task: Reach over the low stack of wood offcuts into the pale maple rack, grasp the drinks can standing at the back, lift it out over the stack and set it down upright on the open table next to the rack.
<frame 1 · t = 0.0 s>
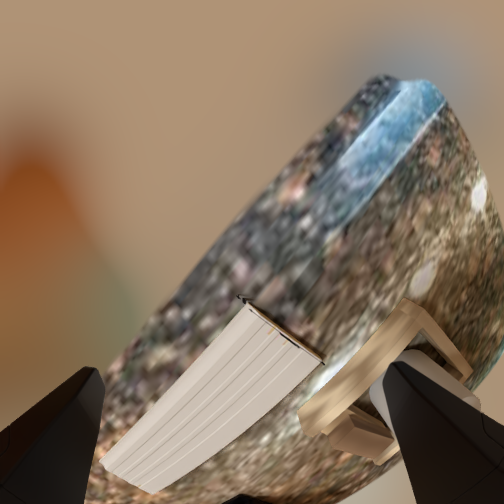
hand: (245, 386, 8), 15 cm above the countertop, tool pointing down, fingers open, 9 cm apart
rack: (384, 390, 26), on the countertop
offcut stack: (351, 421, 26), on the countertop
baseboard: (181, 420, 26), on the countertop
can: (396, 375, 26), resting in rack
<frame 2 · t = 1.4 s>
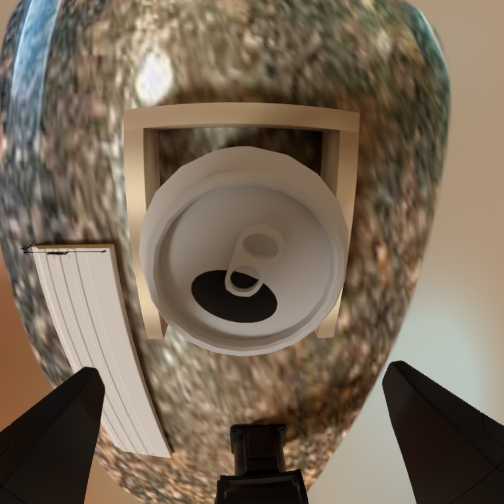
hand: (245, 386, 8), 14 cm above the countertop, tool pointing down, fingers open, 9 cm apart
rack: (239, 228, 20), on the countertop
baseboard: (106, 374, 26), on the countertop
can: (240, 200, 20), resting in rack
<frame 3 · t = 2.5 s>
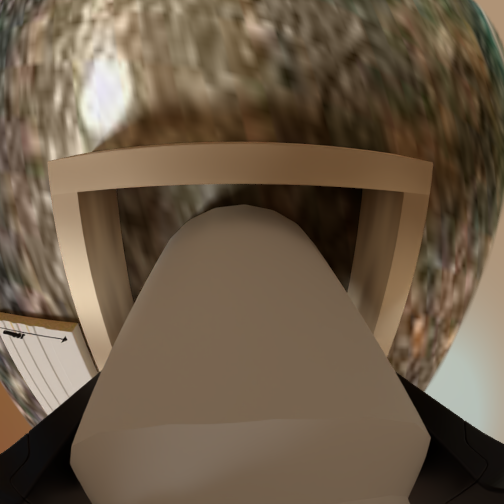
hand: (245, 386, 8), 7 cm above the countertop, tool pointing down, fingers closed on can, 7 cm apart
rack: (240, 313, 14), on the countertop
baseboard: (94, 434, 21), on the countertop
can: (239, 276, 14), resting in rack, touching gripper
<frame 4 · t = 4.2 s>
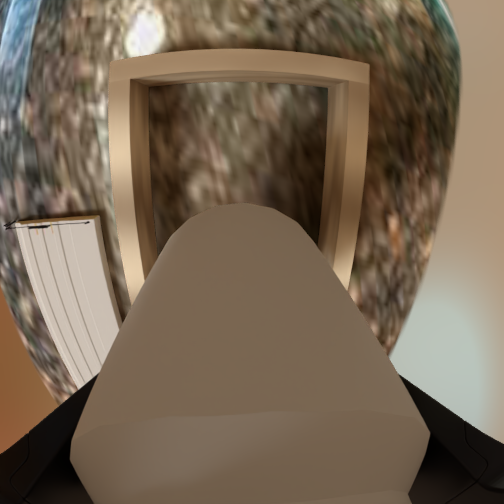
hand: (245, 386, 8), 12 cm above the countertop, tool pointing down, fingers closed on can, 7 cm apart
rack: (237, 192, 18), on the countertop
baseboard: (95, 360, 24), on the countertop
can: (239, 274, 14), point 6 cm above the countertop, touching gripper
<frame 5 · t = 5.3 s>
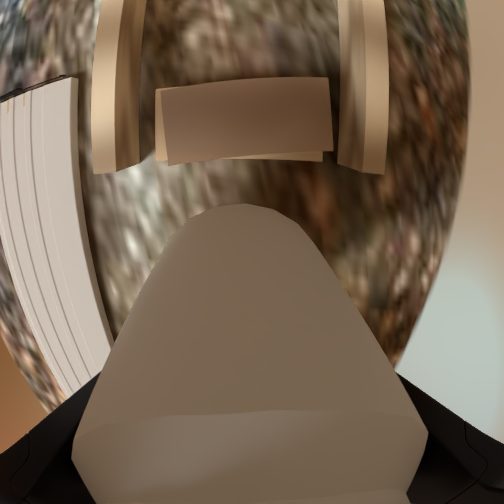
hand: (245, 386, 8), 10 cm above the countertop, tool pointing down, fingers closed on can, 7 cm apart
rack: (241, 38, 12), on the countertop
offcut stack: (239, 122, 14), on the countertop
baseboard: (55, 294, 18), on the countertop
can: (239, 274, 14), point 3 cm above the countertop, touching gripper
when the fingers open (8 cm above the countertop, at t = 6.2 s): can drops 1 cm, on the countertop.
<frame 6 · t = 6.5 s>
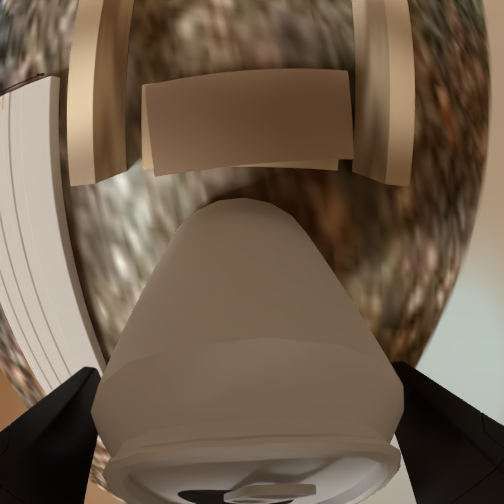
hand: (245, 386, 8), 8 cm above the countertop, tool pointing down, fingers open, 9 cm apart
rack: (242, 27, 10), on the countertop
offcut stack: (240, 124, 12), on the countertop
baseboard: (42, 312, 16), on the countertop
can: (239, 264, 15), on the countertop
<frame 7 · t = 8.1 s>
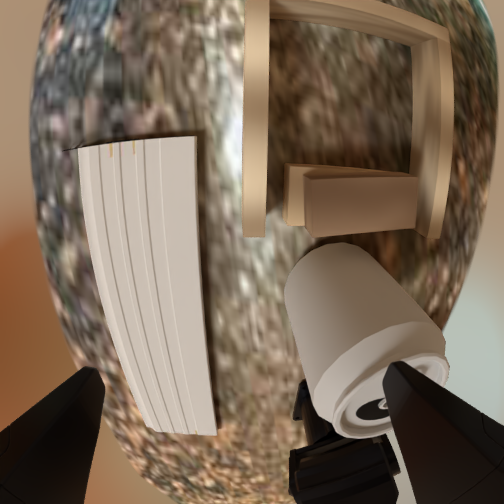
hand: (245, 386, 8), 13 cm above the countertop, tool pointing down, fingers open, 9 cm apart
rack: (344, 120, 17), on the countertop
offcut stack: (340, 192, 19), on the countertop
baseboard: (150, 325, 23), on the countertop
can: (329, 282, 22), on the countertop
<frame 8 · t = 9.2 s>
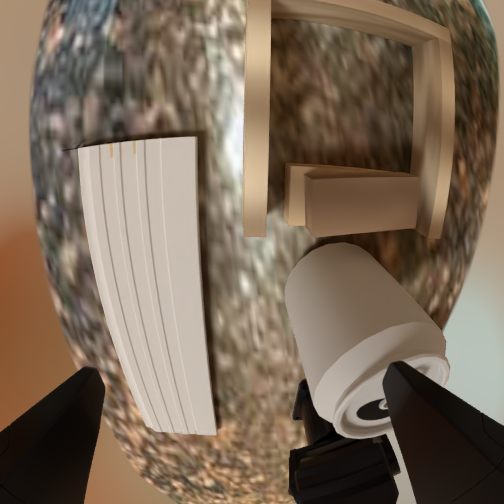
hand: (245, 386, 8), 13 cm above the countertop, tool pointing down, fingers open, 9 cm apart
rack: (346, 120, 17), on the countertop
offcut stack: (341, 192, 19), on the countertop
baseboard: (150, 325, 23), on the countertop
can: (329, 282, 22), on the countertop
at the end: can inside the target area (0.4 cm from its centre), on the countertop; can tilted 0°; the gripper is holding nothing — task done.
